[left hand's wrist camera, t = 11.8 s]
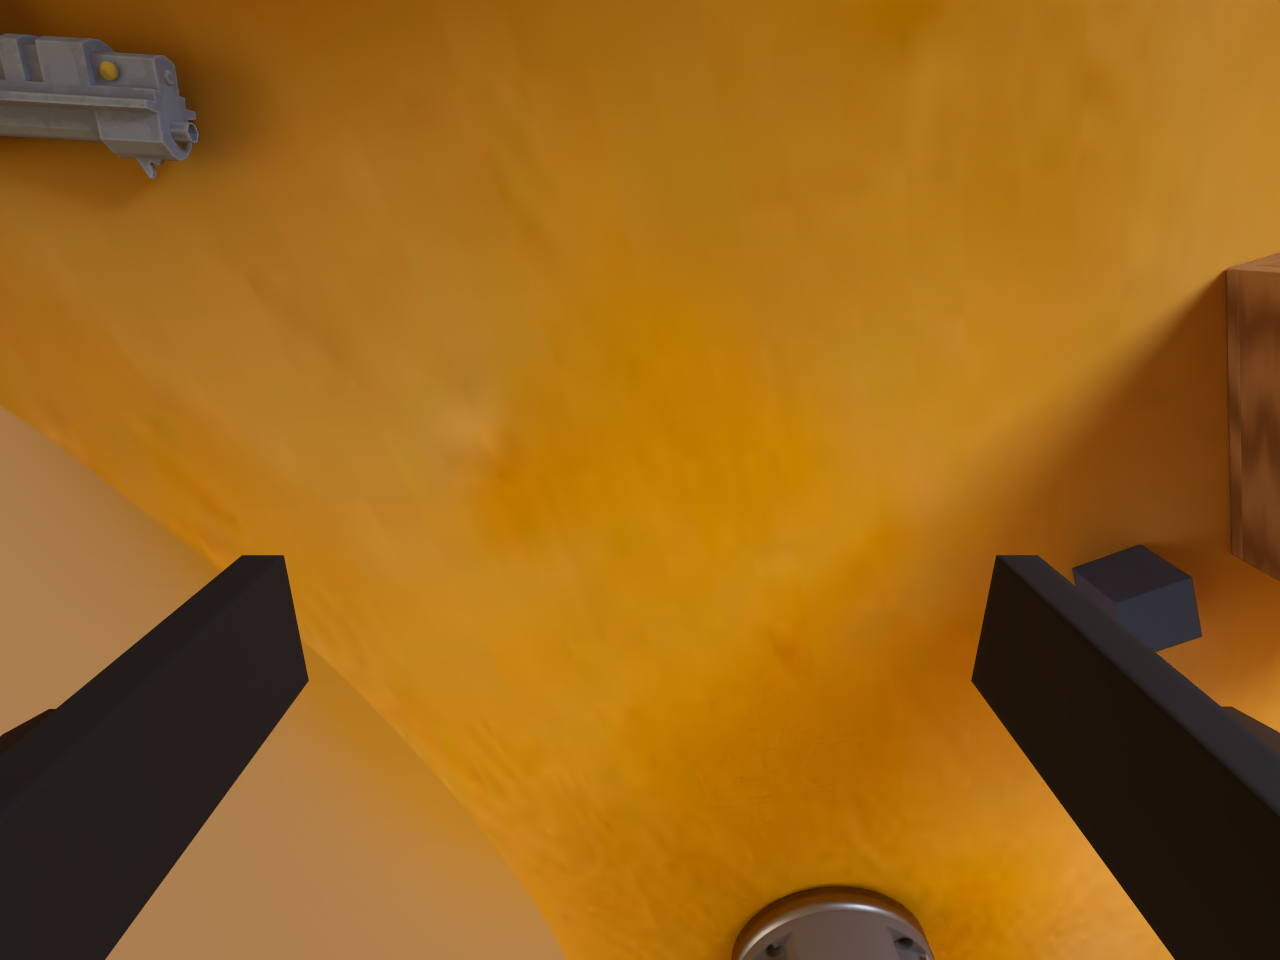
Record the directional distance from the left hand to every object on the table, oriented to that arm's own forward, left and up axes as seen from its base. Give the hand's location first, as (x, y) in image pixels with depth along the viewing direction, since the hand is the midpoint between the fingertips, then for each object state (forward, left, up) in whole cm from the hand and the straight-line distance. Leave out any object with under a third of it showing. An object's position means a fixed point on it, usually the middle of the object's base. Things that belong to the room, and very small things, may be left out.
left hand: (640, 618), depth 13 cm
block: (-16, -28, -27) cm, 42 cm away
